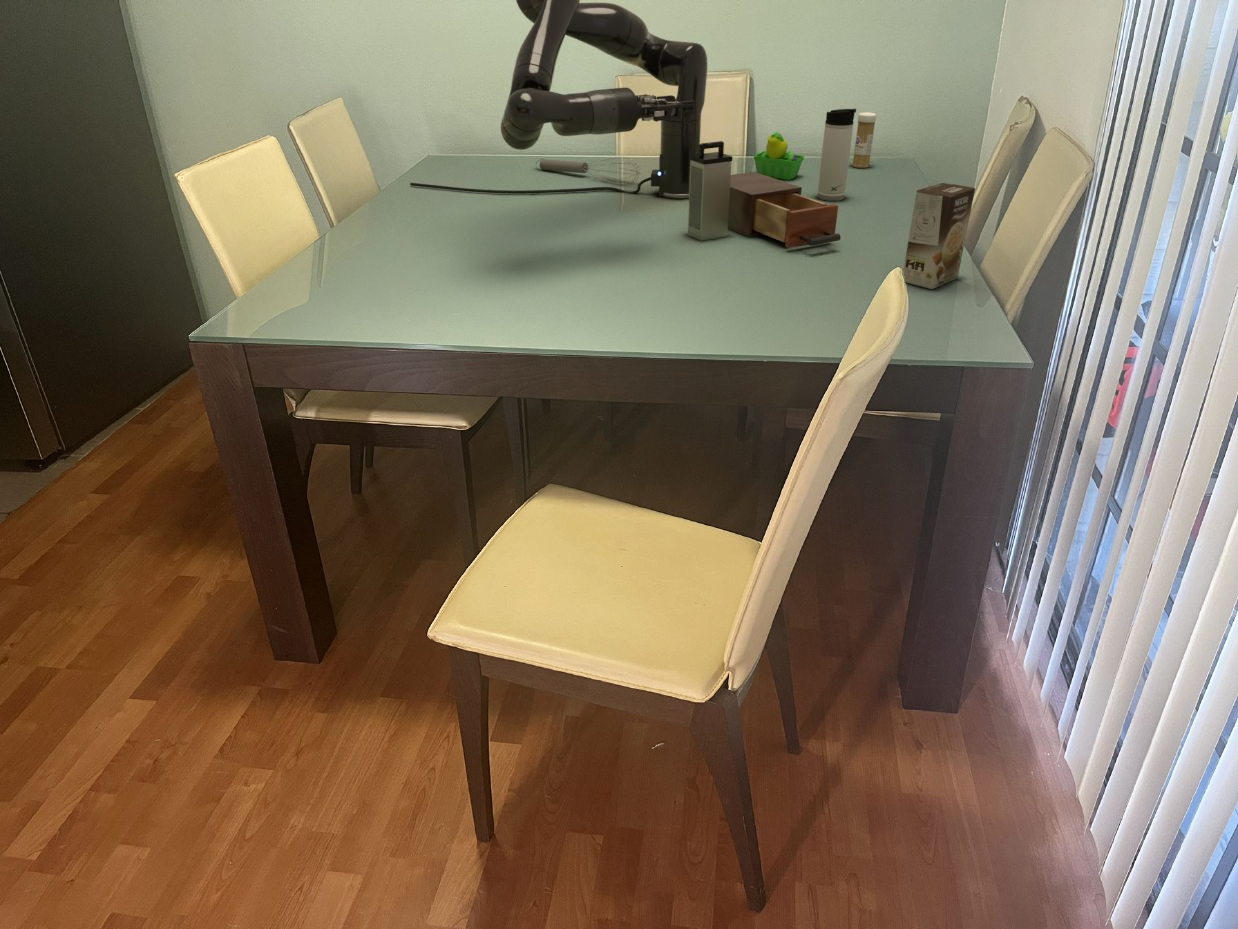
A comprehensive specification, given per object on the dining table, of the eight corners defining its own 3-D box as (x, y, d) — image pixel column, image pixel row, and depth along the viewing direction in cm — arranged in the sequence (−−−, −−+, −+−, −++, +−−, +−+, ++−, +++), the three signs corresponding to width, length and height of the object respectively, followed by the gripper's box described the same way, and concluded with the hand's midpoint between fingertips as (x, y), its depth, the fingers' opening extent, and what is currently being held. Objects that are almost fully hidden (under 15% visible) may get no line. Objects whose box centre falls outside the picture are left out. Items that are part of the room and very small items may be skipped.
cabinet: (797, 228, 190) (801, 187, 185) (749, 237, 184) (752, 194, 180) (751, 210, 202) (754, 171, 198) (704, 218, 197) (706, 178, 193)
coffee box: (933, 290, 156) (950, 196, 148) (900, 281, 160) (914, 190, 152) (958, 278, 162) (976, 187, 154) (926, 270, 166) (941, 181, 158)
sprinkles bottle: (848, 166, 241) (854, 113, 234) (859, 163, 243) (866, 111, 237) (861, 169, 238) (868, 115, 231) (873, 166, 240) (880, 113, 234)
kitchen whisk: (543, 166, 242) (542, 142, 239) (645, 184, 225) (645, 158, 222) (528, 170, 238) (527, 145, 235) (631, 189, 221) (631, 162, 217)
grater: (728, 236, 185) (733, 142, 176) (700, 241, 182) (704, 146, 173) (713, 230, 189) (718, 138, 180) (686, 234, 186) (690, 141, 177)
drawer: (848, 244, 177) (852, 209, 173) (802, 253, 172) (805, 217, 168) (786, 221, 191) (789, 188, 188) (742, 228, 187) (744, 195, 183)
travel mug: (838, 202, 208) (849, 111, 198) (812, 198, 211) (822, 108, 201) (850, 197, 212) (861, 107, 202) (824, 193, 216) (834, 104, 205)
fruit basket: (803, 176, 231) (808, 129, 226) (790, 182, 225) (794, 135, 219) (763, 170, 237) (766, 125, 231) (748, 177, 230) (751, 131, 225)
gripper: (626, 94, 155) (706, 87, 162) (588, 84, 166) (665, 78, 173) (626, 139, 159) (704, 131, 166) (589, 127, 170) (664, 119, 177)
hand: (684, 104), depth 170 cm, fingers open, 7 cm apart
